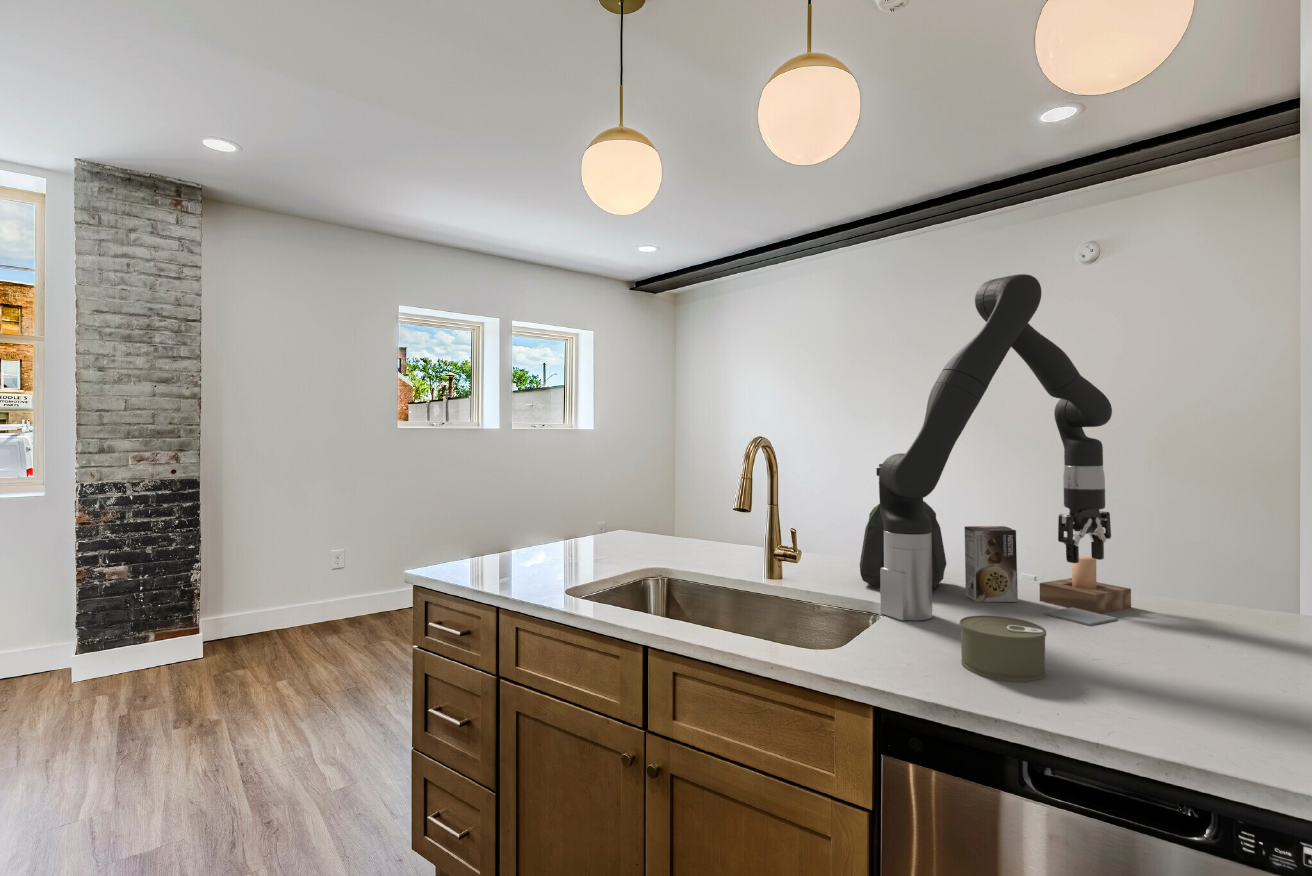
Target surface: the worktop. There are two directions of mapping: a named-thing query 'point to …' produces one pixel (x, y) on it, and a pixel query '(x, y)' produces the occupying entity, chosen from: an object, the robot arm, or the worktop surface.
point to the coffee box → (991, 564)
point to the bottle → (875, 547)
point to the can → (1003, 648)
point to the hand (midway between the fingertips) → (1085, 560)
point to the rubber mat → (1080, 616)
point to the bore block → (1086, 596)
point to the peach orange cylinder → (1084, 573)
